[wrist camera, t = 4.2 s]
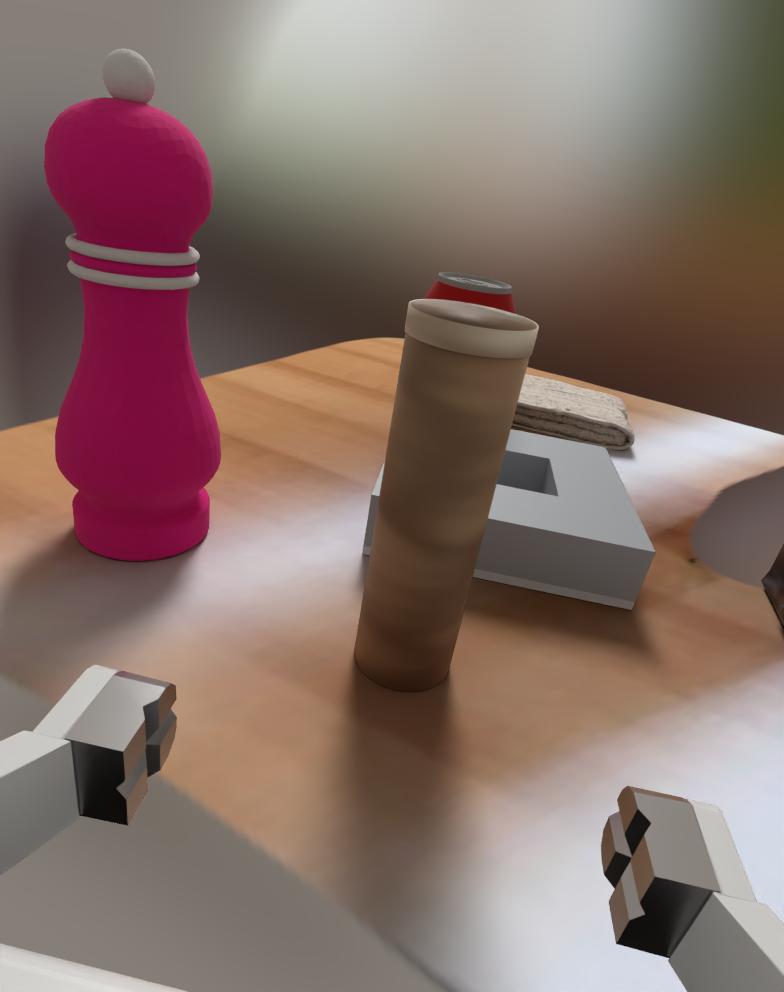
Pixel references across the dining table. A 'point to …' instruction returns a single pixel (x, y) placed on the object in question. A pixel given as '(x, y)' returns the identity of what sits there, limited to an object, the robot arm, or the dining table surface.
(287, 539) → the dining table surface
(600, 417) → the washcloth
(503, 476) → the hole block
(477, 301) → the beverage can
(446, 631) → the dowel
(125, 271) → the pepper mill
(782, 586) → the manual coffee grinder
